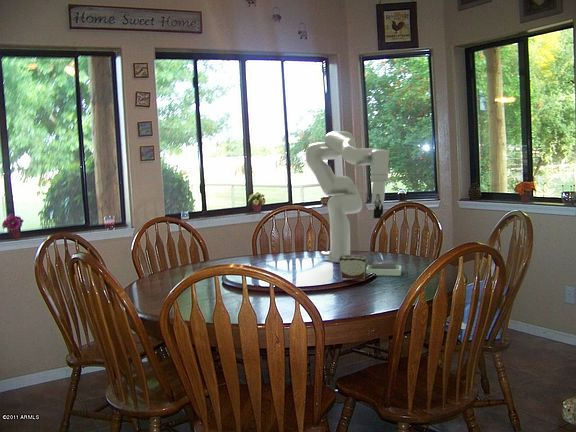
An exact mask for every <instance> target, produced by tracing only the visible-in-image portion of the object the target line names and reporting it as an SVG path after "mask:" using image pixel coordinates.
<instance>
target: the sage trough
mask: <svg viewBox="0 0 576 432" xmlns="http://www.w3.org/2000/svg"><path fill="white" fill-rule="evenodd" d="M396 265H397V264H396ZM366 273H375V274H376V275H375V276H395V277H396V276H398V277H399V276H402V264H401V265H399V264H398V265H397V269H372V264H366V269H365V274H366Z"/></svg>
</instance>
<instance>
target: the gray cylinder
mask: <svg viewBox="0 0 576 432" xmlns="http://www.w3.org/2000/svg"><path fill="white" fill-rule="evenodd" d="M371 265H372V269H397V264H396V262H395V261H394V262H393V261H386V262H385V261H381V262H380V261H372V262H371Z"/></svg>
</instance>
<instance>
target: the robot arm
mask: <svg viewBox="0 0 576 432" xmlns="http://www.w3.org/2000/svg"><path fill="white" fill-rule="evenodd" d="M323 141H324V142H323ZM323 141H322V142H314V143H311V144H309V145H308V147H306V151H305V158H306V163H307V164H308V167H309V168H310V170H311V172H312V173H313V174H314V176H315V178H316V180H317V182H318V184H319V186H320V188H321V190H322V192H323V193H324V195H326V196H327V197H329V199H328V200H327V210H328V217H329V235H330V236H329V238H330V239H329V242H330V245H329V246H330V247H329V248H330V250H329V251H321V252H320V253H321V255H320V256H321V257H327V261H328V262H330V263H340V261H338V259H339V257H340V256H343V255H351V225H350V219H349V218H348V217H347V215H349V214H356V213H359V212H361V210H362V208H363V200H362V197H361V195H360V192H359V191H358V189H357V188H356V186H355V184H354V181H353V180H352V179H351V177H349V176H347V175H335V173H334V171H333V170H332V167H331V166H330V165H329V164H328V163H327V162H325V160H326V161H327V160H336V159H339V158H340V157H342V159H343V161H345V162H346V163H348V164H351V165H353V166H358V167H359V166H370V182H371V183H372V186H371V188H372V189H371V205H374V208H373V219H382V215H383V214H384V202H385V193H386V191H385V190H386V183H387V182H389V160H390V157H389V155H390V154H389V151H388V149H383V148H382V149H379V148H375V147H368V148H367V147H365V148H357V144H356V140H355V138H354V135H353V134H352V133H351V132H349V131H330V132H328V133H327V134H326V135H325V136H324V140H323Z"/></svg>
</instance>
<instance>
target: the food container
mask: <svg viewBox="0 0 576 432" xmlns="http://www.w3.org/2000/svg"><path fill="white" fill-rule="evenodd" d="M338 261H340V262H339V268H340V276H341V279H342V278H361V279H365V278H366V268H367V263H369V262H368V261H369V260H368V258H367V256H366V255H363V254H362V255H361V254H350V255H343V256H340V257H339V259H338Z"/></svg>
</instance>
